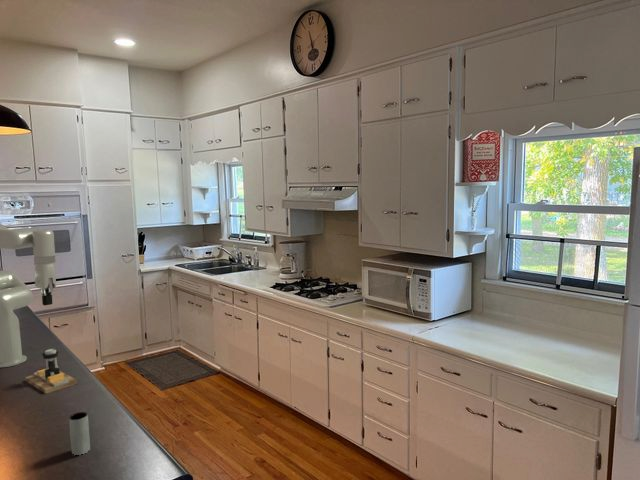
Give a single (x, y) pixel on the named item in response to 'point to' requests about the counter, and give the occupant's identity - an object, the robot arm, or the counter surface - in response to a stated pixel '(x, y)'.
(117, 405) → the counter surface
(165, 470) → the counter surface
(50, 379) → the end stops
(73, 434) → the planter
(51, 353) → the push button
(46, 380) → the din rail
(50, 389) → the din panel
